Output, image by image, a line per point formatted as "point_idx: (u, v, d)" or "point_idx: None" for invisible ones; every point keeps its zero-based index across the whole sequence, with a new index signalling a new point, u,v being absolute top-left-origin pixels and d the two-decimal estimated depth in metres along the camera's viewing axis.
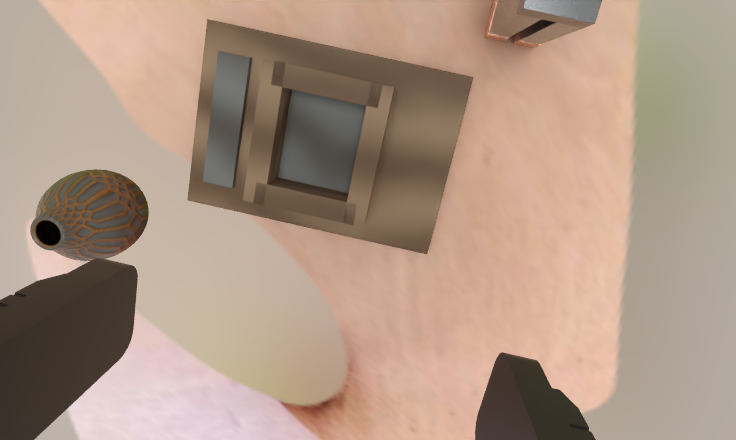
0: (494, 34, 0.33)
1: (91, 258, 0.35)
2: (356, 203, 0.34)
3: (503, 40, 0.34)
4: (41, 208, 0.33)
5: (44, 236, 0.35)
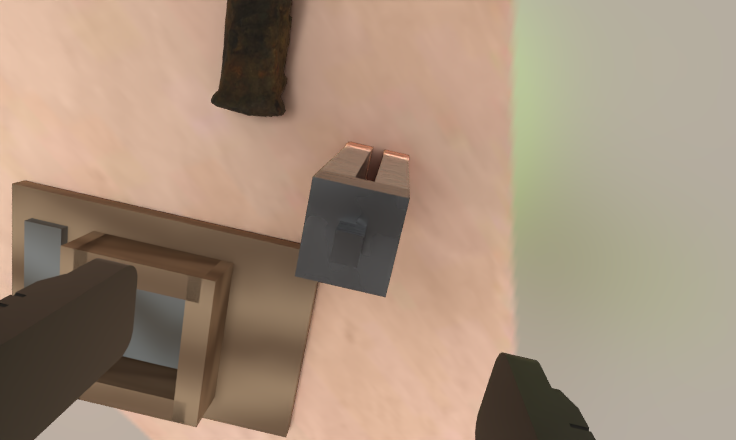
0: None
1: None
2: (185, 401, 0.29)
3: None
4: None
5: None
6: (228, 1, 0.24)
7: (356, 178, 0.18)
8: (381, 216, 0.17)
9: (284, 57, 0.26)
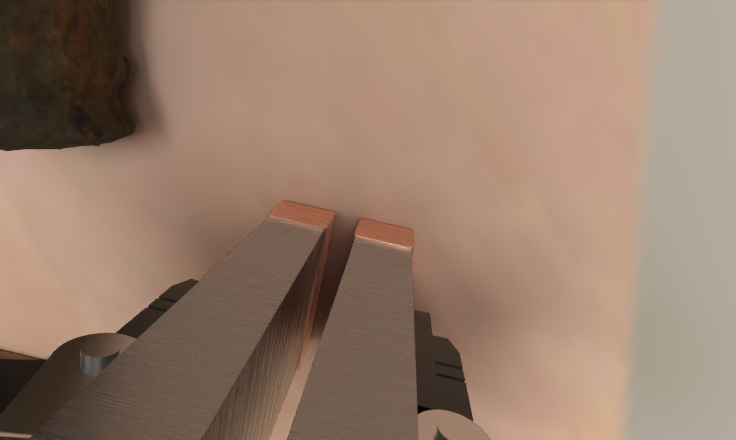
0: None
1: None
2: None
3: None
4: None
5: None
6: None
7: None
8: None
9: (102, 3, 0.11)
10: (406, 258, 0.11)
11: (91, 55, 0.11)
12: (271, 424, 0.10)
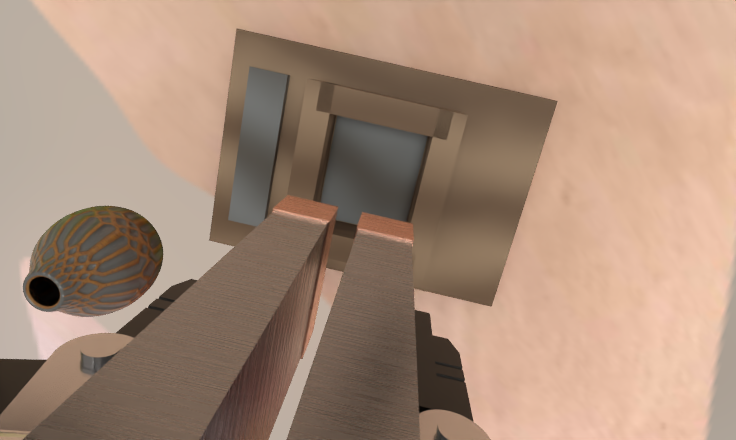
0: None
1: (96, 315, 0.29)
2: (415, 252, 0.29)
3: None
4: (36, 259, 0.27)
5: (40, 288, 0.29)
6: None
7: None
8: None
9: None
10: (407, 250, 0.11)
11: None
12: (277, 408, 0.10)
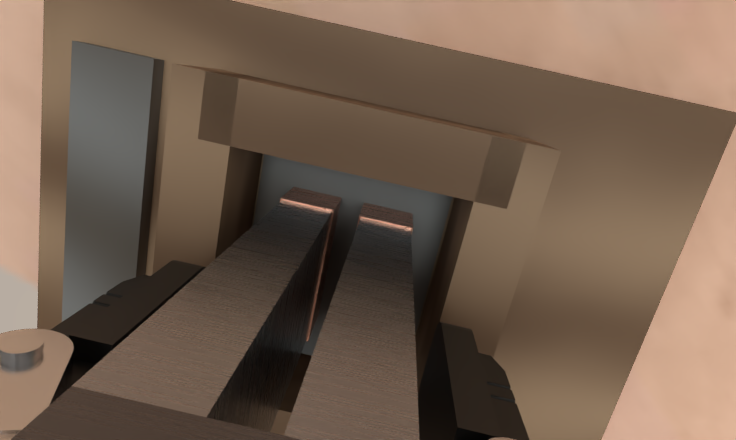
0: None
1: None
2: None
3: None
4: None
5: None
6: None
7: (206, 432, 0.05)
8: None
9: None
10: (406, 236, 0.12)
11: None
12: (286, 383, 0.11)
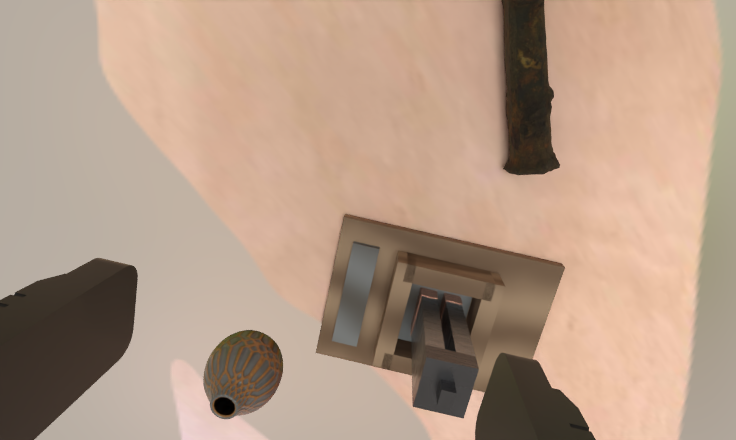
0: None
1: (247, 413, 0.42)
2: None
3: None
4: (215, 382, 0.40)
5: None
6: (513, 107, 0.36)
7: (446, 350, 0.33)
8: (463, 377, 0.32)
9: None
10: (461, 307, 0.40)
11: None
12: None
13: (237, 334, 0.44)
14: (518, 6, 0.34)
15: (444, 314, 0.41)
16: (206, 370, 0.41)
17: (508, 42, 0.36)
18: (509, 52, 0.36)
